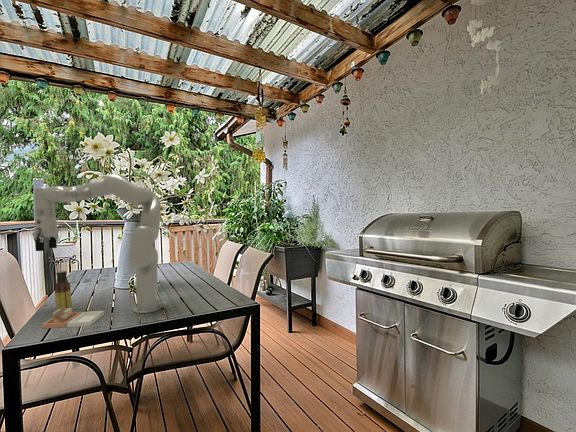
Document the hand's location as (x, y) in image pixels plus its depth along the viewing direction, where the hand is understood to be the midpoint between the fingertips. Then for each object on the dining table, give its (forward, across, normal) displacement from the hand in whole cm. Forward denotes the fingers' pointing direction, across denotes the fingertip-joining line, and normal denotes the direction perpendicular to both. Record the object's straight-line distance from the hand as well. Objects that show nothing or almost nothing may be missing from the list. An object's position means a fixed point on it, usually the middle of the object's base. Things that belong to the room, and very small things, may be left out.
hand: (46, 249), depth 148 cm
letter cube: (+30, -14, -14) cm, 36 cm away
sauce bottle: (+31, +2, -5) cm, 32 cm away
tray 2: (+31, -14, -23) cm, 41 cm away
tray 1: (+31, -14, -14) cm, 36 cm away
